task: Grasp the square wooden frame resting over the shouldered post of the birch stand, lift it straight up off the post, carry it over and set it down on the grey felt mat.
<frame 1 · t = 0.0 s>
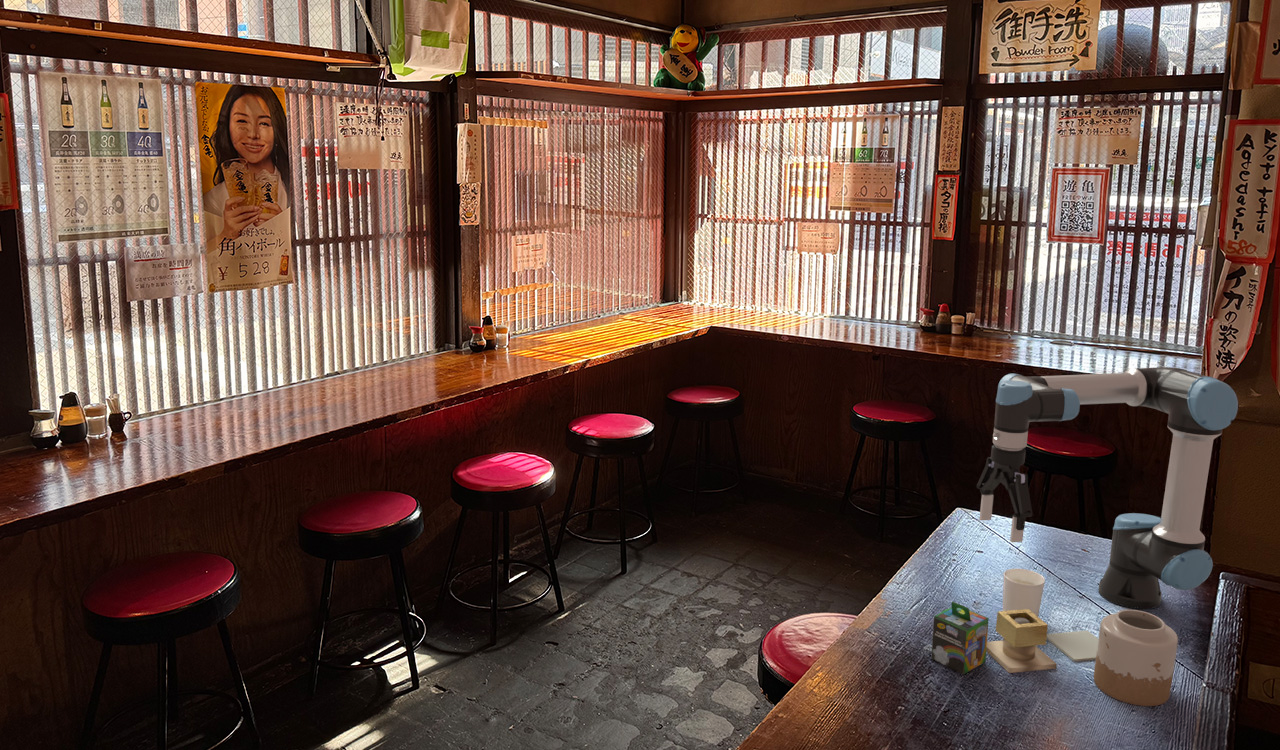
hand: (1000, 530, 226), 28 cm above the table, fingers open, 13 cm apart
felt mat: (1080, 646, 227), on the table
candle holder: (1019, 620, 241), on the table
vase: (1130, 688, 210), on the table
chalk box: (957, 661, 221), on the table
square wooden frame: (1020, 637, 221), point 5 cm above the table, touching stand
stand: (1018, 657, 222), on the table
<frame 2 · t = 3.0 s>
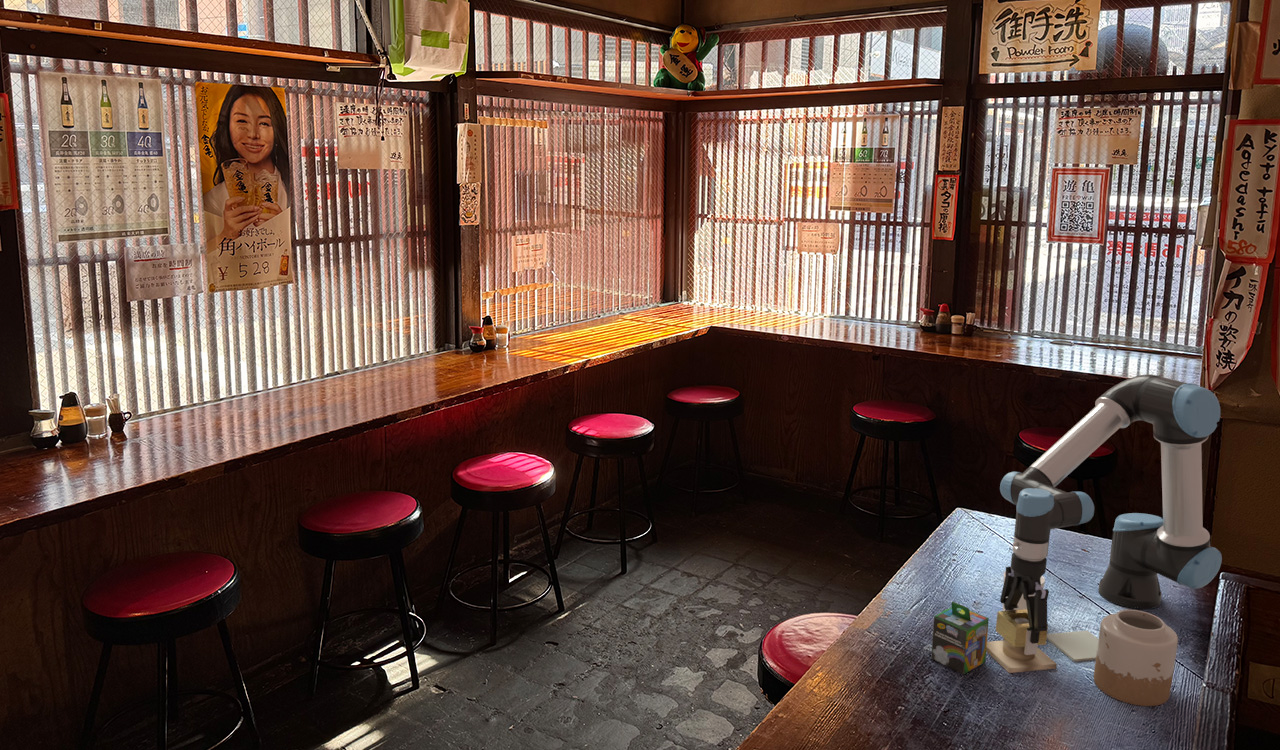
hand: (1019, 644, 222), 3 cm above the table, fingers closed on square wooden frame, 8 cm apart
square wooden frame: (1020, 637, 221), point 5 cm above the table, touching gripper, stand
everything else where it was.
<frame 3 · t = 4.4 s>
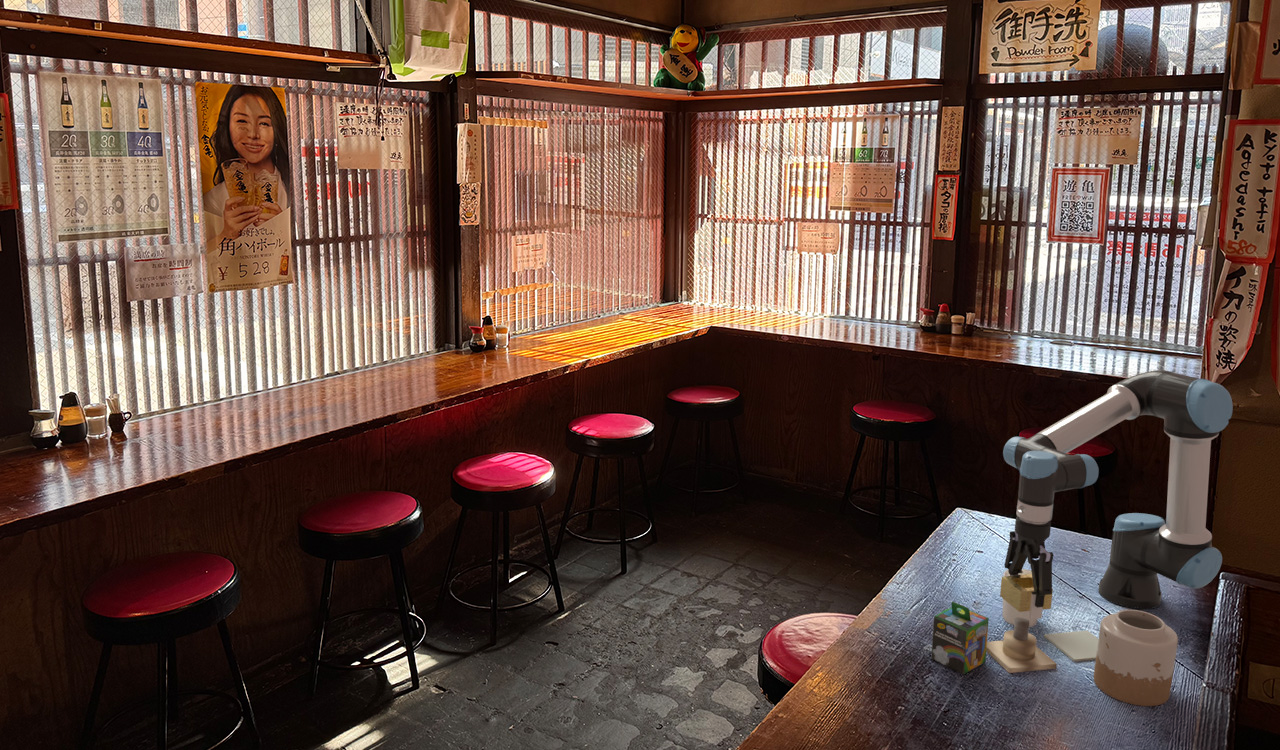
hand: (1024, 609, 220), 12 cm above the table, fingers closed on square wooden frame, 8 cm apart
square wooden frame: (1025, 602, 219), point 14 cm above the table, touching gripper
everything else where it was.
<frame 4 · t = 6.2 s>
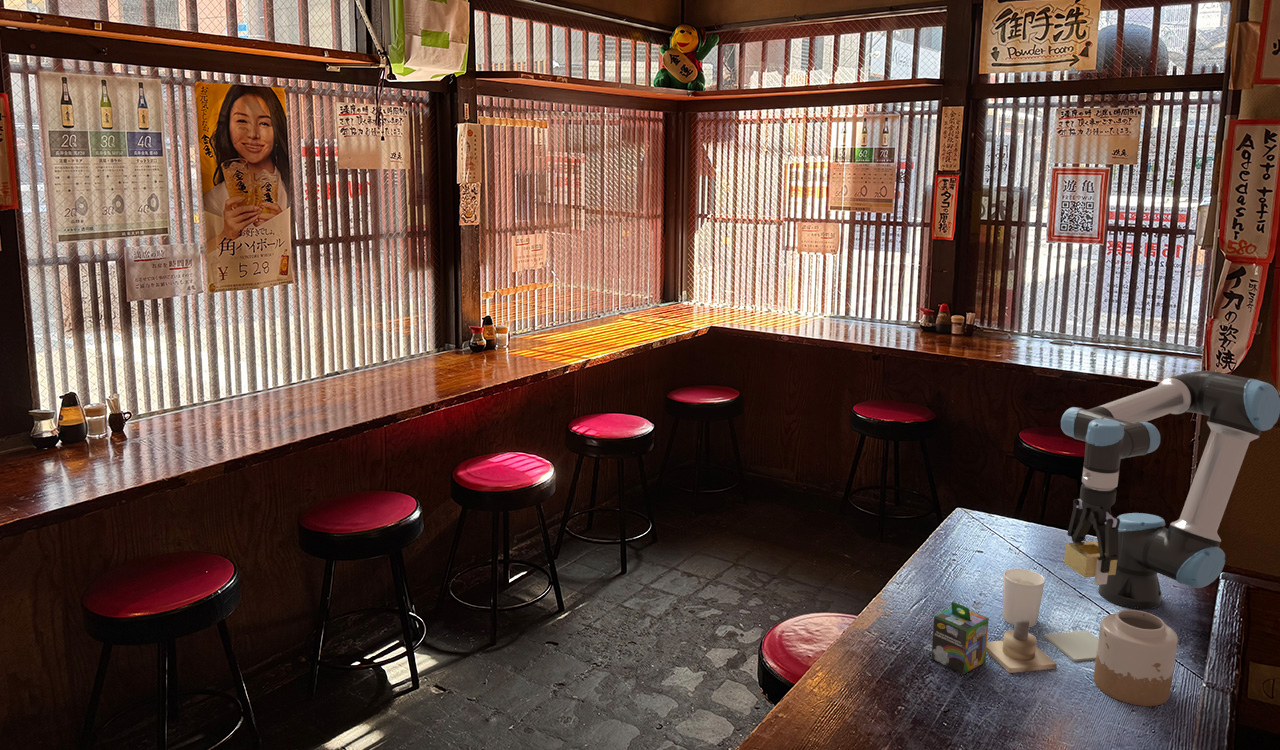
hand: (1088, 575, 223), 19 cm above the table, fingers closed on square wooden frame, 8 cm apart
square wooden frame: (1089, 568, 223), point 21 cm above the table, touching gripper
everything else where it was.
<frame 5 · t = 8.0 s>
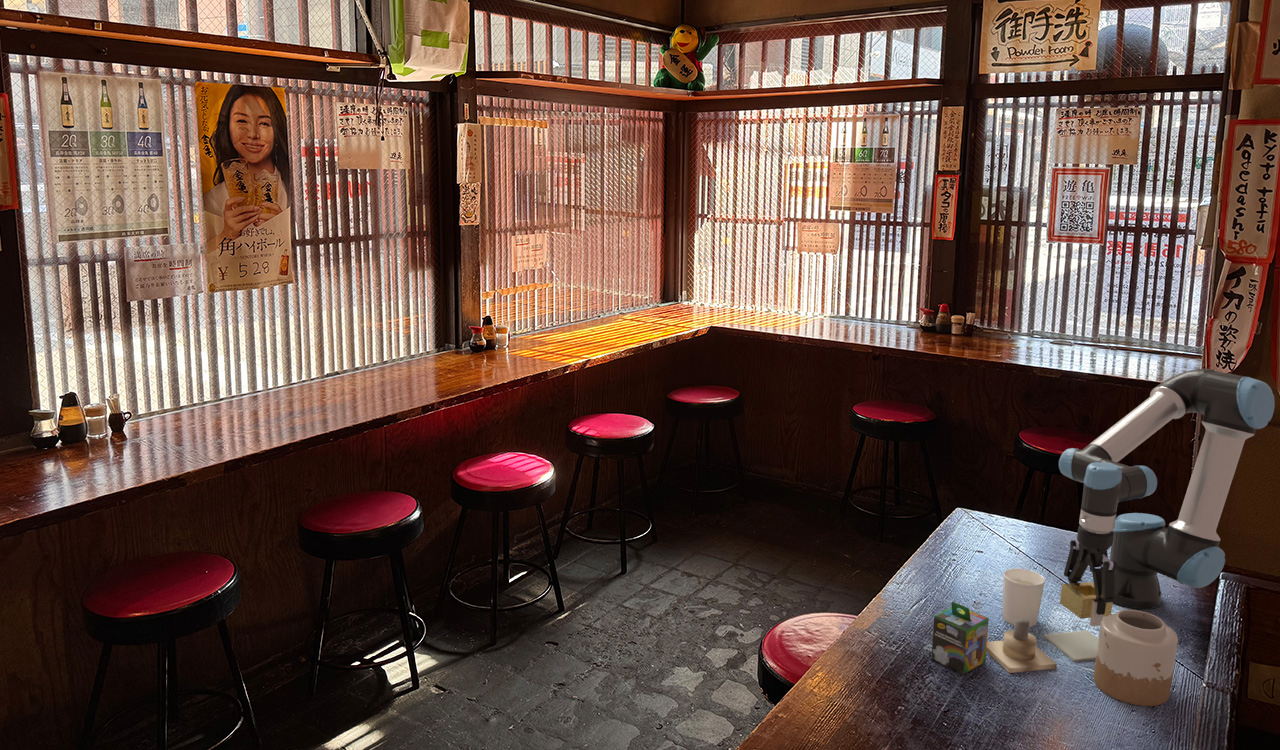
hand: (1084, 616, 226), 8 cm above the table, fingers closed on square wooden frame, 8 cm apart
square wooden frame: (1084, 609, 225), point 10 cm above the table, touching gripper
everything else where it was.
when the fingers open (2 cm above the table, at t = 9.4 s): square wooden frame drops 3 cm, resting on felt mat.
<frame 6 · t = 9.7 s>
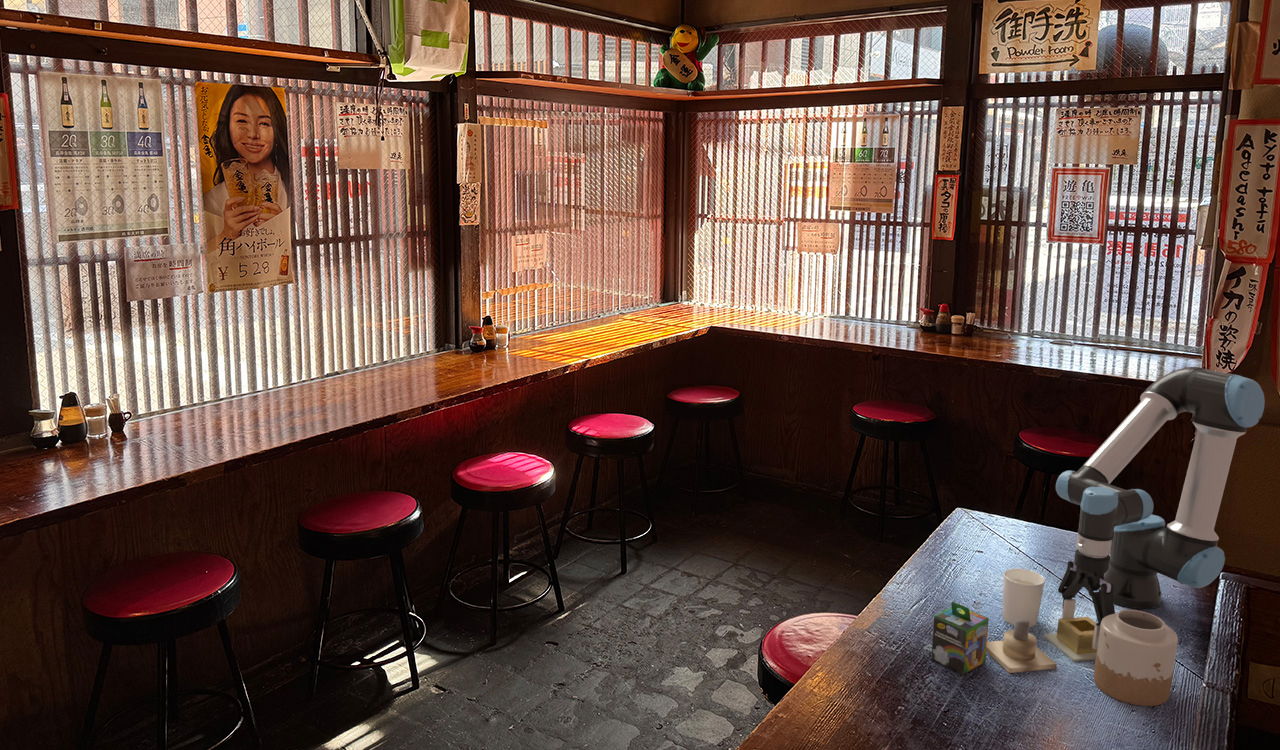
hand: (1082, 635, 227), 3 cm above the table, fingers open, 11 cm apart
square wooden frame: (1081, 644, 227), point 1 cm above the table, touching felt mat
everything else where it was.
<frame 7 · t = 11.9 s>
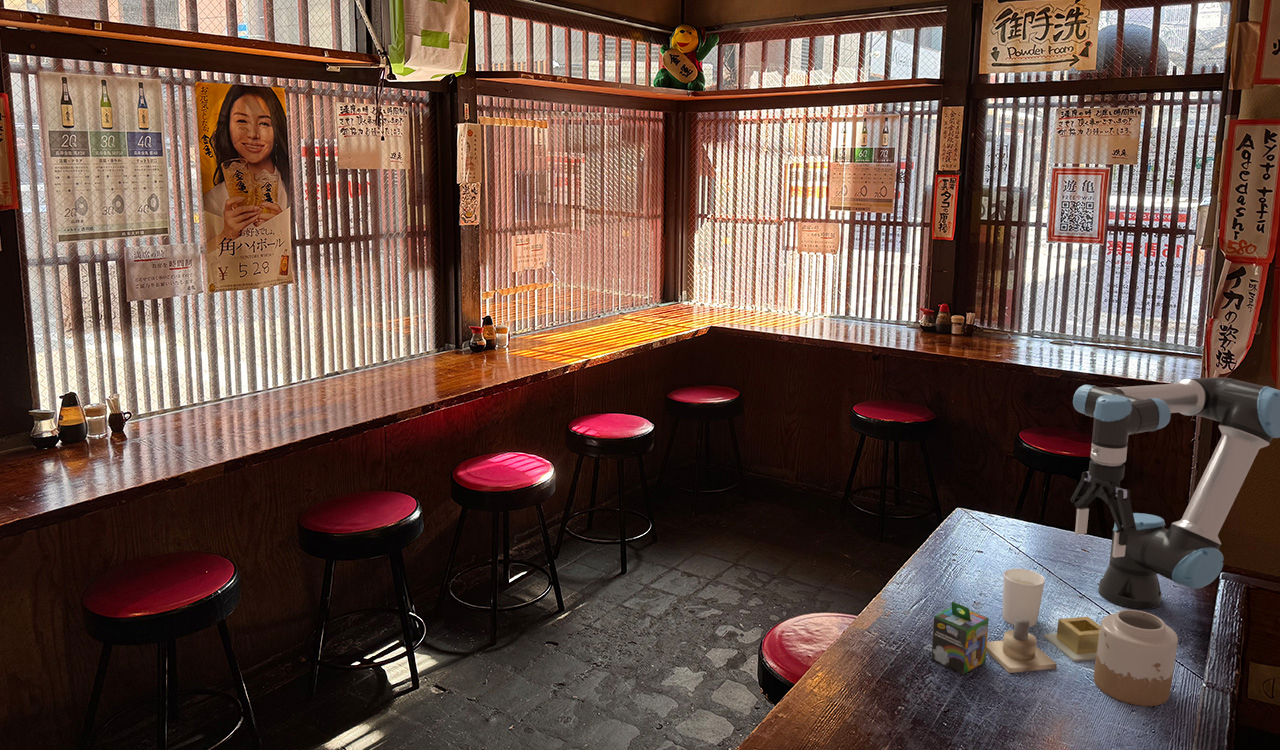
hand: (1099, 544, 225), 25 cm above the table, fingers open, 13 cm apart
nothing on the table moved.
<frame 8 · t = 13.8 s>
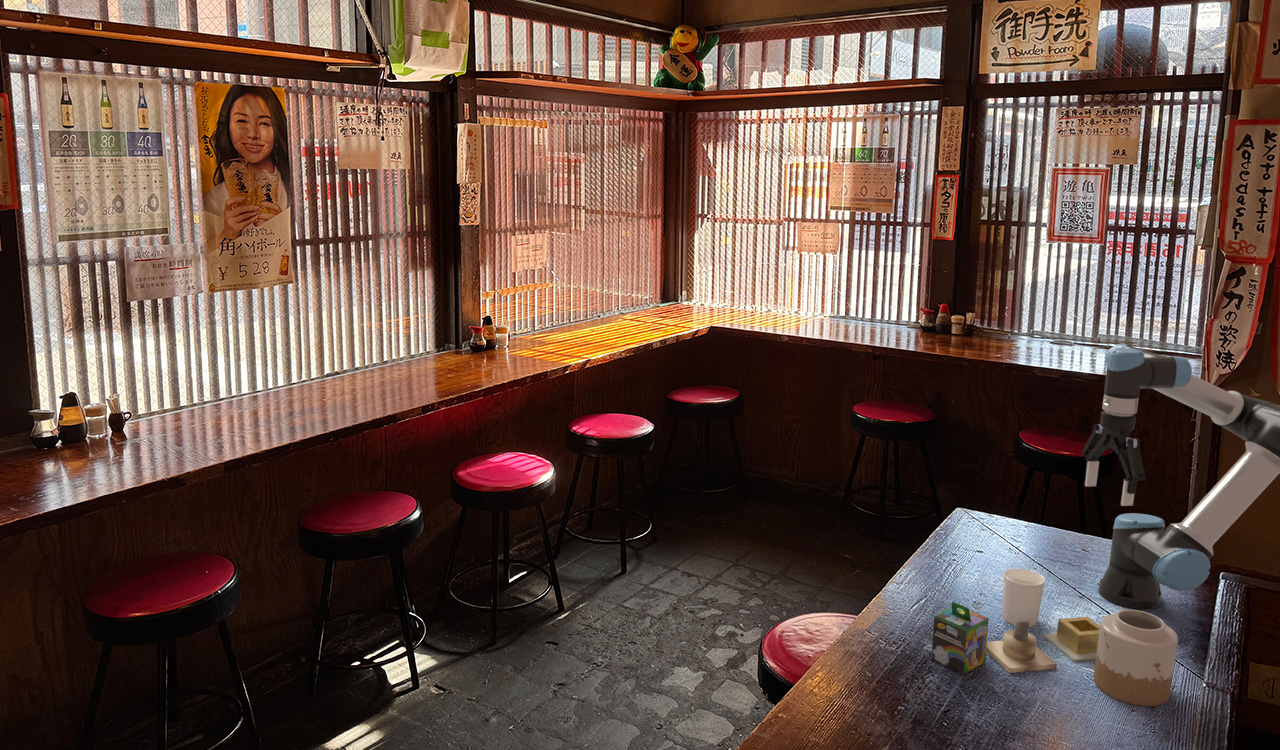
hand: (1108, 495, 231), 35 cm above the table, fingers open, 13 cm apart
nothing on the table moved.
at the end: square wooden frame inside the target area on the felt mat (0.0 cm from its centre), point 0.6 cm above the felt mat's base; square wooden frame tilted 0°; square wooden frame touching felt mat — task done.
